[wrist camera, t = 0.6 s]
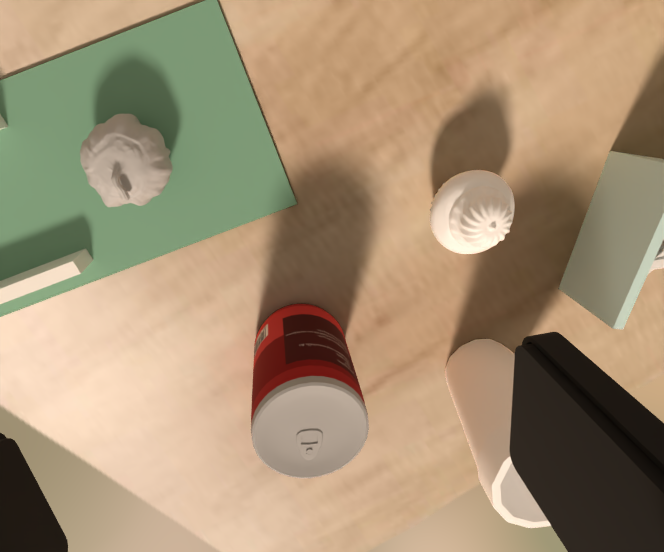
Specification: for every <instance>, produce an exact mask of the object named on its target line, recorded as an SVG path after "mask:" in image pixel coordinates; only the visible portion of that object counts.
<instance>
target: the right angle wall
mask: <svg viewBox="0 0 664 552" xmlns="http://www.w3.org/2000/svg"><path fill="white" fill-rule="evenodd" d="M661 268H664V159H661V158H655V157H648V156H641V155H635V154H628V153H621V152H615V151H610V152H609V154H608V157H607V160H606V162H605V165H604V168H603V170H602V173H601V176H600V178H599V181H598V184H597V187H596V189H595V192H594V195H593V197H592V200H591V203H590V205H589V208H588V211H587V213H586V216H585V219H584V221H583V224H582V227H581V229H580V232H579V235H578V237H577V240H576V243H575V246H574V248H573V251H572V254H571V256H570V259H569V262H568V264H567V267H566V270H565V272H564V275H563V278H562V280H561V283H560V286H559V288H558V289H560V290H561V291H562V292H564V293H565V294H566V295H568V296H569V297H570V298H572V299H573V300H575V301H576V302H577V303H579V304H580V305H581V306H583V307H584V308H585V309H587V310H588V311H590V312H591V313H592V314H594V315H595V316H596V317H598V318H599V319H600V320H602V321H603V322H604V323H606V324H607V325H609V326H610V327H611V328H613V329H623V328H624V326H625V324H626V322H627V319H628V317H629V315H630V313H631V311H632V308H633V306H634V304H635V302H636V299H637V297H638V295H639V293H640V290H641V288H642V286H643V284H644V282H645V279H646V277H647V275H648V274H649V273H650V272H651V271H653V270H655V269H661Z"/></svg>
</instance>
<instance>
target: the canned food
mask: <svg viewBox="0 0 664 552" xmlns="http://www.w3.org/2000/svg"><path fill="white" fill-rule="evenodd" d="M368 430H369V424H368V413H367V410H366V406H365V402H364V399H363V395H362V392H361V389H360V385H359V382H358V379H357V376H356V373H355V369H354V366H353V363H352V360H351V356H350V353H349V350H348V347H347V344H346V340H345V337H344V334H343V331H342V329H341V327H340V325H339V323H338V322H337V321H336V320H335V319H334V317H333V316H331V315H330V314H329V313H328V312H326V311H325V310H323V309H321V308H319V307H317V306H314V305H310V304H293V305H289V306H286V307H283V308H281V309H279V310H277V311H275V312H274V313H273V314H272V315H270V316H269V317H268V318H267V320H266V321H265V322H264V323H263V325H262V326H261V328H260V330H259V332H258V333H257V336H256V340H255V348H254V369H253V391H252V412H251V433H252V441H253V446H254V449H255V451H256V453H257V455H258V456H259V458H260V459H261V460H262V462H263V463H264V464H266V465H267V466H268V467H269V468H270V469H272V470H274V471H276V472H278V473H280V474H283V475H286V476H289V477H295V478H314V477H321V476H324V475H327V474H330V473H333V472H335V471H337V470H339V469H341V468H343V467H344V466H345V465H347V464H348V463H350V462H351V461H352V460H353V459H354V458H355V457H356V456H357V455H358V453H359V452H360V450H361V449H362V447H363V446H364V443H365V441H366V439H367V435H368Z"/></svg>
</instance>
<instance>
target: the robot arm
mask: <svg viewBox="0 0 664 552" xmlns="http://www.w3.org/2000/svg"><path fill="white" fill-rule="evenodd" d="M509 449H510V457H511V461H512V463H513V466H514V468H515V470H516V471H517V473H518V474H519V476H520V478H521V479H522V481H523V482H524V484H525V485H526V487H527V489H528V490H529V492H530V493H531V495H532V496H533V498H534V499H535V501H536V503H537V504H538V506H539V507H540V509H541V510H542V512H543V513H544V515H545V517H546V518H547V520H548V521H549V523H550V524H551V526H552V528H553V529H554V531H555V532H556V534H557V535H558V537H559V538H560V540H561V541H562V543H563V544H564V546H565V548H566V549H567V551H568V552H664V423H663V422H662V421H660V420H659V419H658V418H657V417H656V416H655V415H653V414H652V413H651V412H650V411H649V410H648V409H646V408H645V407H644V406H643V405H642V404H641V403H640V402H638V401H637V400H636V399H635V398H634V397H633V396H631V395H630V394H629V393H628V392H627V391H626V390H625V389H623V388H622V387H621V386H620V385H619V384H618V383H616V382H615V381H614V380H613V379H612V378H611V377H610V376H608V375H607V374H606V373H605V372H604V371H603V370H601V369H600V368H599V367H598V366H597V365H596V364H594V363H593V362H592V361H591V360H590V359H589V358H588V357H586V356H585V355H584V354H583V353H582V352H581V351H579V350H578V349H577V348H576V347H575V346H574V345H572V344H571V343H570V342H569V341H568V340H567V339H566V338H564V337H563V336H562V335H561V334H559V333H558V332H550V333H544V334H539V335H533V336H528V337H526V338H524V340H523V342H522V345H521V346H518V347H517V348H516V349H515V359H514V377H513V395H512V413H511V430H510V448H509ZM0 552H68V543H67V539H66V536H65V534H64V532H63V531H62V529H61V527H60V525H59V523H58V521H57V519H56V517H55V515H54V514H53V512H52V510H51V508H50V506H49V504H48V502H47V500H46V499H45V496H44V494H43V493H42V491H41V489H40V487H39V485H38V483H37V481H36V479H35V477H34V476H33V474H32V472H31V470H30V468H29V466H28V464H27V463H26V460H25V458H24V457H23V455H22V453H21V451H20V449H19V447H18V445H17V443H16V442H15V441H14V440H13V439H8V438H6V437H5V435H3V434H2V433H0Z"/></svg>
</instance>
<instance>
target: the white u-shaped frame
mask: <svg viewBox="0 0 664 552" xmlns="http://www.w3.org/2000/svg"><path fill="white" fill-rule="evenodd" d="M6 127H8V125H7V124H6V122H5V120H4V119H3V117H2V116H1V114H0V130H1V129H4V128H6ZM92 261H93V259H92V257H91V256H90V254H89V253H88V251H87V249H86V248H85V249H83V250H80V251H77V252H75V253H72V254H70V255H67V256H64V257H62V258H59V259H56V260H54V261H51V262H49V263H46V264H43V265H41V266H38V267H36V268H33V269H30V270H28V271H25V272H22V273H20V274H17V275H15V276H12V277H9V278H7V279H4V280H1V281H0V304H2V303H5V302H8V301H10V300H13V299H15V298H18V297H21V296H23V295H26V294H29V293H31V292H34V291H37V290H39V289H42V288H44V287H47V286H50V285H52V284H55V283H58V282H60V281H63V280H65V279H68V278H71V277H73V276H76V275H79V274H81V273H82V272H83V271H84V270H85V269H86V268H87V266H88V265H89V264H90V263H91V262H92Z"/></svg>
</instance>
